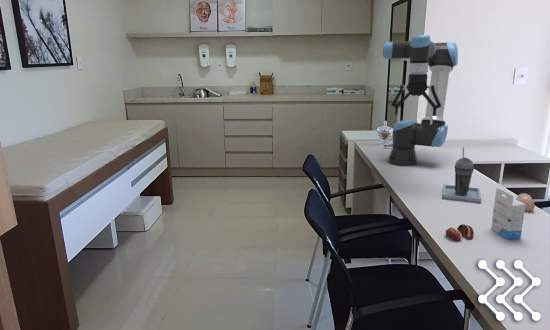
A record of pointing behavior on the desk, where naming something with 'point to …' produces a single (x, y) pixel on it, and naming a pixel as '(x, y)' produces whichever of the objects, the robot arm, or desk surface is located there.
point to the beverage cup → (463, 175)
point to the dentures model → (460, 232)
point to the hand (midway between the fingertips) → (414, 123)
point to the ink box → (507, 215)
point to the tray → (471, 196)
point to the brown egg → (526, 201)
